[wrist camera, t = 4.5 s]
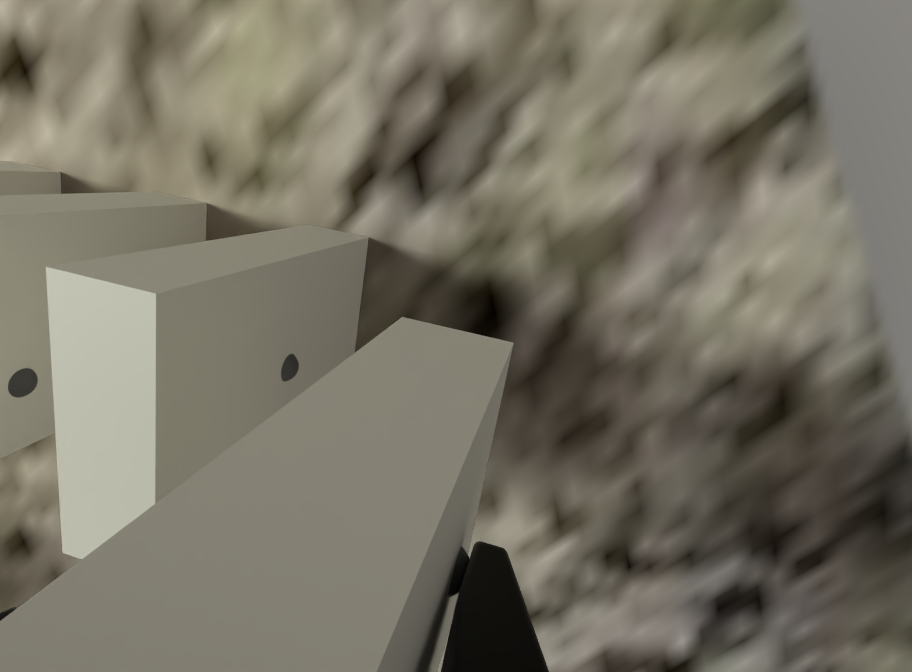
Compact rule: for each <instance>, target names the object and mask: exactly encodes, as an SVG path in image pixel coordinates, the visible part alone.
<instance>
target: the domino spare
mask: <svg viewBox="0 0 912 672" xmlns="http://www.w3.org/2000/svg"><path fill="white" fill-rule="evenodd" d="M513 344H514V343H513V342H508V341H504V340H500V339H495V338H491V337H487V336H482V335H478V334H474V333H469V332H465V331H461V330H456V329H452V328H448V327H444V326H439V325H435V324H431V323H426V322H422V321H418V320H413V319H409V318H405V317H402V318H400V319H399V320H398V321H396V322H395V323H394V324H392V325H391V326H390V327H388V328H387V329H386V330H384V331H383V332H382V333H380V334H379V335H378V336H376V337H375V338H374V339H372V340H371V341H370V342H368V343H367V344H366V345H364V346H363V347H362V348H361V349H359V350H358V351H357V352H355V353H354V354H353V355H351V356H350V357H349V358H347V359H346V360H345V361H343V362H342V363H341V364H339V365H338V366H337V367H335V368H334V369H333V370H331V371H330V372H329V373H327V374H326V375H325V376H324V377H322V378H321V379H320V380H318V381H317V382H316V383H314V384H313V385H312V386H310V387H309V388H308V389H306V390H305V391H304V392H302V393H301V394H300V395H298V396H297V397H296V398H294V399H293V400H292V401H290V402H289V403H288V404H286V405H285V406H284V407H283V408H281V409H280V410H279V411H277V412H276V413H275V414H273V415H272V416H271V417H269V418H268V419H267V420H265V421H264V422H263V423H261V424H260V425H259V426H257V427H256V428H255V429H253V430H252V431H251V432H249V433H248V434H247V435H245V436H244V437H243V438H242V439H240V440H239V441H238V442H236V443H235V444H234V445H232V446H231V447H230V448H228V449H227V450H226V451H224V452H223V453H222V454H220V455H219V456H218V457H216V458H215V459H214V460H212V461H211V462H210V463H208V464H207V465H206V466H205V467H203V468H202V469H201V470H199V471H198V472H197V473H195V474H194V475H193V476H191V477H190V478H189V479H187V480H186V481H185V482H183V483H182V484H181V485H179V486H178V487H177V488H175V489H174V490H173V491H171V492H170V493H169V494H167V495H166V496H165V497H164V498H162V499H161V500H160V501H158V502H157V503H156V504H154V505H153V506H152V507H150V508H149V509H148V510H146V511H145V512H144V513H142V514H141V515H140V516H138V517H137V518H136V519H134V520H133V521H132V522H130V523H129V524H128V525H126V526H125V527H124V528H123V529H121V530H120V531H119V532H117V533H116V534H115V535H113V536H112V537H111V538H109V539H108V540H107V541H105V542H104V543H103V544H101V545H100V546H99V547H97V548H96V549H95V550H93V551H92V552H91V553H89V554H88V555H87V556H86V557H84V558H83V559H82V560H80V561H79V562H78V563H76V564H75V565H74V566H72V567H71V568H70V569H68V570H67V571H66V572H64V573H63V574H62V575H60V576H59V577H58V578H56V579H55V580H54V581H52V582H51V583H50V584H48V585H47V586H46V587H45V588H43V589H42V590H41V591H39V592H38V593H37V594H35V595H34V596H33V597H31V598H30V599H29V600H27V601H26V602H25V603H23V604H22V605H21V606H19V607H18V608H17V609H15V610H14V611H13V612H11V613H10V614H9V615H7V616H6V617H5V618H4V619H2V620H1V621H0V672H437V671H438V667H439V664H440V661H441V657H442V654H443V650H444V647H445V643H446V640H447V637H448V633H449V630H450V626H451V623H452V619H453V614H454V610H455V605H456V601H457V598H458V594H459V591H460V588H461V584H462V581H463V578H464V575H465V572H466V569H467V566H468V562H469V556H468V552H469V547H470V543H471V538H472V534H473V529H474V524H475V520H476V515H477V510H478V506H479V501H480V497H481V492H482V487H483V483H484V478H485V473H486V469H487V464H488V460H489V455H490V450H491V446H492V441H493V437H494V432H495V427H496V423H497V418H498V413H499V409H500V404H501V400H502V395H503V390H504V386H505V381H506V376H507V372H508V367H509V363H510V358H511V353H512V349H513Z"/></svg>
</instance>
